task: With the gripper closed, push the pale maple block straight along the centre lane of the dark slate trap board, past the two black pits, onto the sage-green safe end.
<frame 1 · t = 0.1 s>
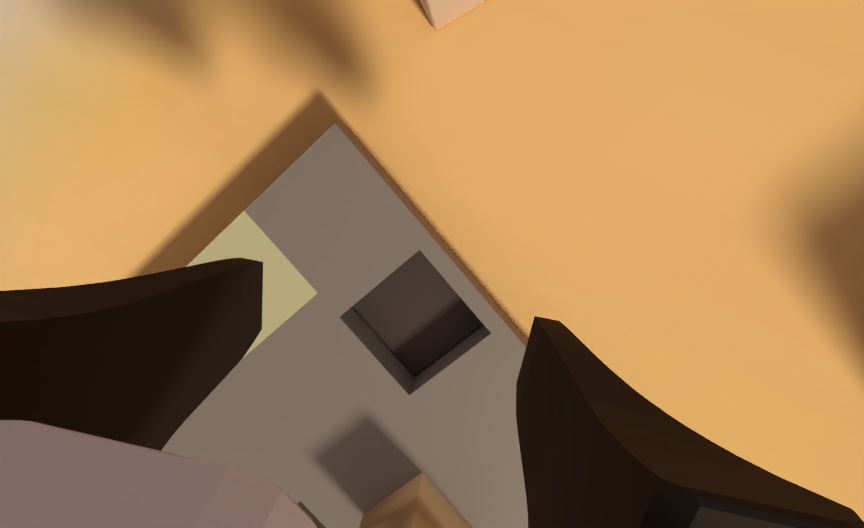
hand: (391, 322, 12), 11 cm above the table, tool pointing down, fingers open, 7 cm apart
maple block: (418, 521, 23), point 2 cm above the table, touching trap board
trap board: (350, 414, 24), on the table
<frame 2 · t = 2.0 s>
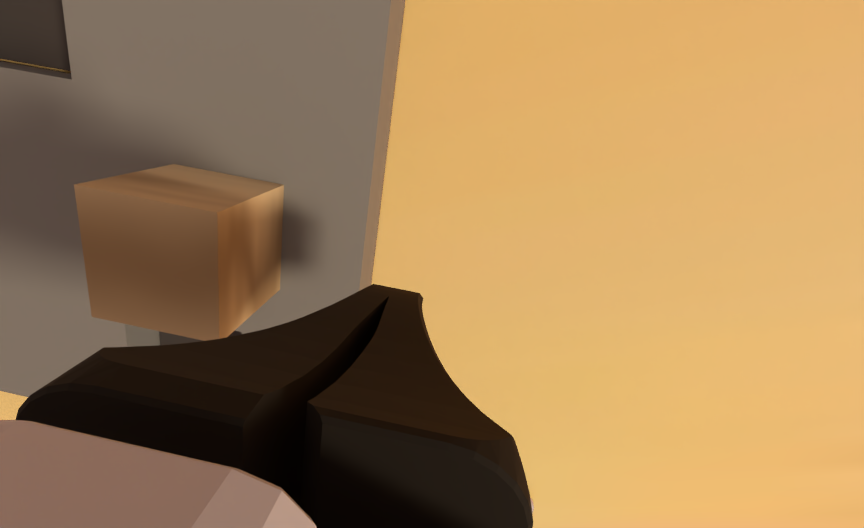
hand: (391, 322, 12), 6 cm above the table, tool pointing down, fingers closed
maple block: (228, 229, 16), point 2 cm above the table, touching trap board
trap board: (116, 188, 18), on the table
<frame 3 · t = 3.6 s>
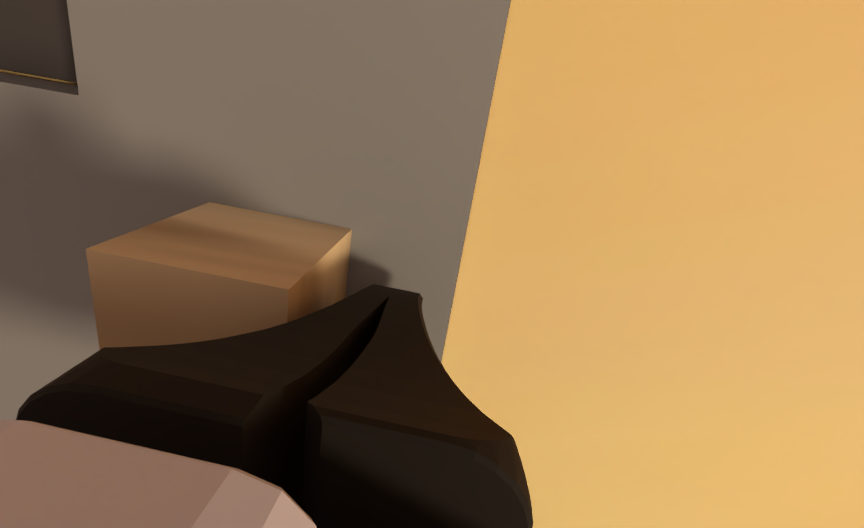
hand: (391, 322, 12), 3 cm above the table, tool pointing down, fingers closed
maple block: (278, 282, 13), point 2 cm above the table, touching gripper, trap board
trap board: (133, 225, 15), on the table
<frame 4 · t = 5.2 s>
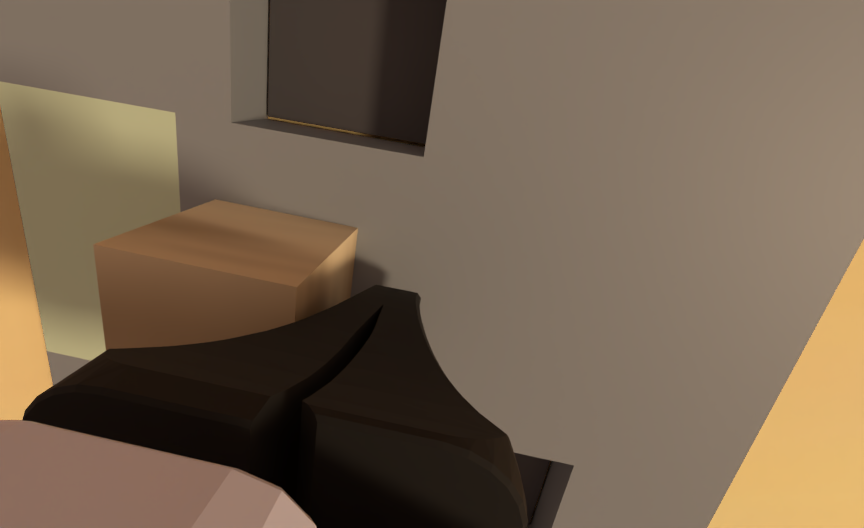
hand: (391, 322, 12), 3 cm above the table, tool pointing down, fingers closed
maple block: (282, 280, 13), point 2 cm above the table, touching gripper, trap board
trap board: (398, 276, 14), on the table
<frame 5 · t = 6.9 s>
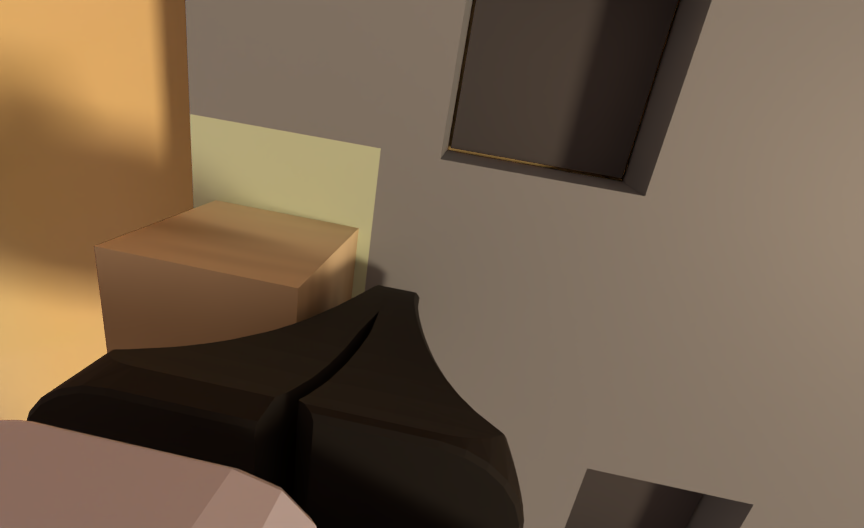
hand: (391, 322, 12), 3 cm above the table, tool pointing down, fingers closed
maple block: (283, 281, 13), point 2 cm above the table, touching gripper, trap board
trap board: (564, 309, 14), on the table
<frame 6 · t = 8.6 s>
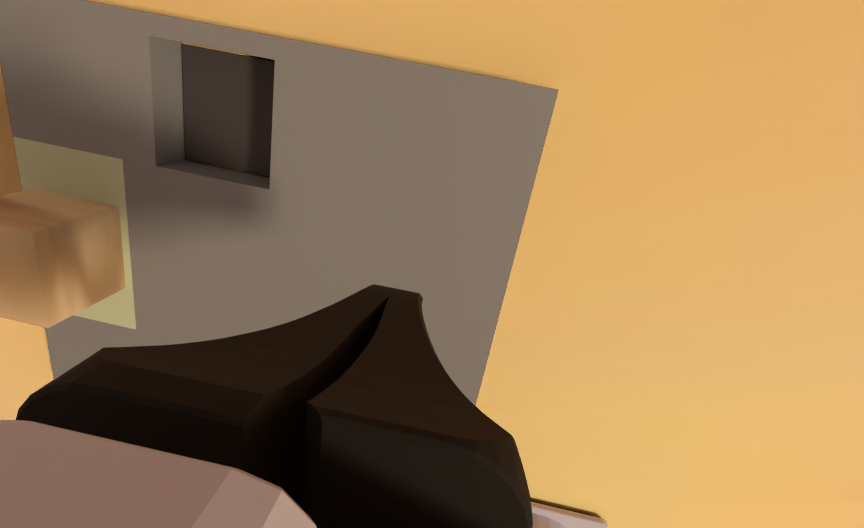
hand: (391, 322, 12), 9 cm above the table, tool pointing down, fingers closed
maple block: (81, 239, 21), point 2 cm above the table, touching trap board
trap board: (275, 262, 22), on the table
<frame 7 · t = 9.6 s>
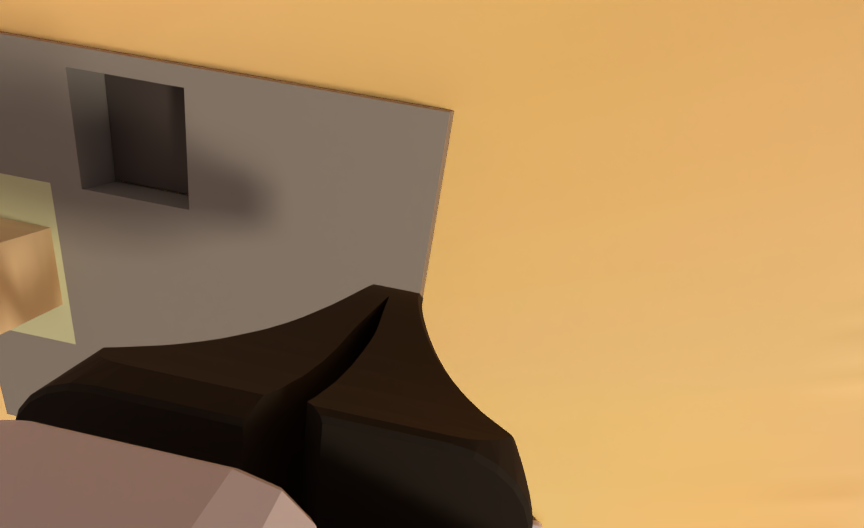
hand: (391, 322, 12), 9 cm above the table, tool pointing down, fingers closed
maple block: (18, 259, 21), point 2 cm above the table, touching trap board
trap board: (208, 277, 23), on the table
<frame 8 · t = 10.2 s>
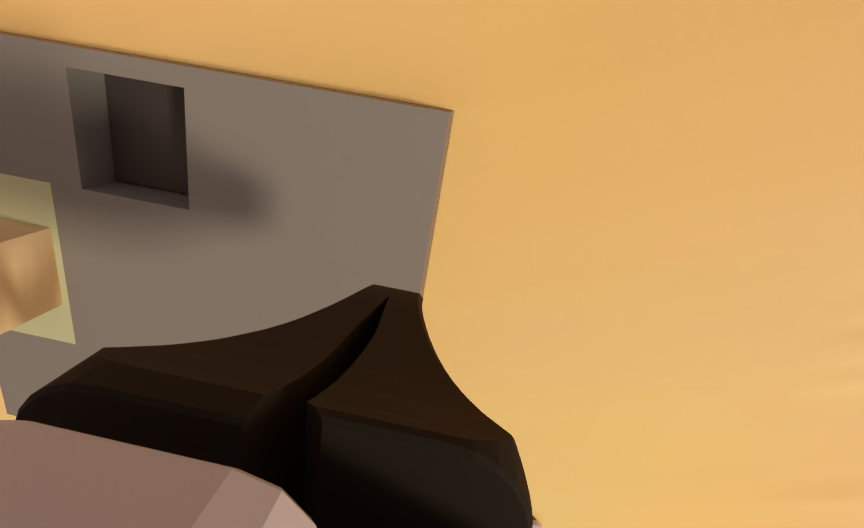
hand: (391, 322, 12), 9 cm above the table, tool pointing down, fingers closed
maple block: (18, 259, 21), point 2 cm above the table, touching trap board
trap board: (208, 277, 23), on the table
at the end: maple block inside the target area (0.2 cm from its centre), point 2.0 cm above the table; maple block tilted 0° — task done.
